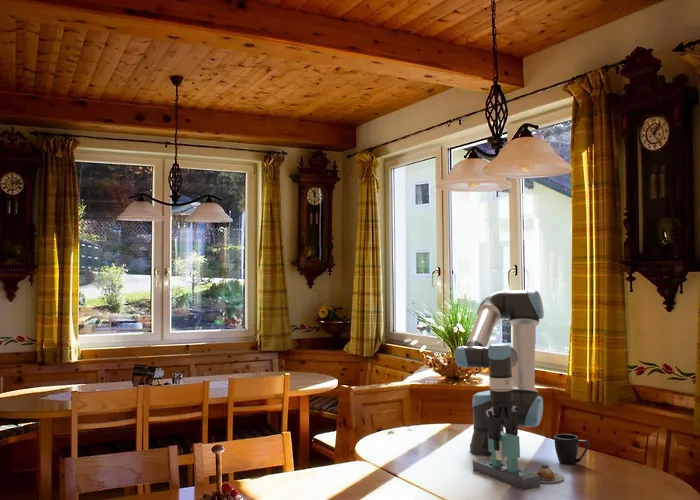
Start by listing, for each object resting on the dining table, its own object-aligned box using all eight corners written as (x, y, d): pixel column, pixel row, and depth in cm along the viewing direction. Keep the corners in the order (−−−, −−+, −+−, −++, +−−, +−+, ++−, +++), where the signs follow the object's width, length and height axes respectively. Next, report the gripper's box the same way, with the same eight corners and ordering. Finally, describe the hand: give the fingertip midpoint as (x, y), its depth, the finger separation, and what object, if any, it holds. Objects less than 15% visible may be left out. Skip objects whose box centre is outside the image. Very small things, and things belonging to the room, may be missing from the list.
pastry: (558, 487, 211) (558, 473, 211) (522, 482, 217) (521, 468, 217) (567, 477, 221) (567, 463, 221) (532, 472, 227) (532, 459, 227)
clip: (489, 466, 225) (487, 431, 226) (497, 464, 227) (495, 429, 227) (512, 474, 214) (511, 437, 215) (520, 472, 216) (519, 436, 217)
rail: (472, 470, 231) (472, 460, 231) (488, 467, 234) (488, 457, 234) (523, 490, 207) (523, 479, 208) (540, 486, 211) (539, 475, 211)
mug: (585, 469, 228) (584, 441, 228) (552, 464, 235) (550, 437, 236) (592, 463, 234) (591, 436, 235) (560, 458, 242) (558, 432, 242)
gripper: (489, 393, 215) (492, 465, 214) (527, 388, 223) (530, 457, 221) (474, 390, 222) (477, 460, 220) (512, 385, 229) (515, 452, 228)
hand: (504, 458), depth 221 cm, fingers closed on clip, 3 cm apart
